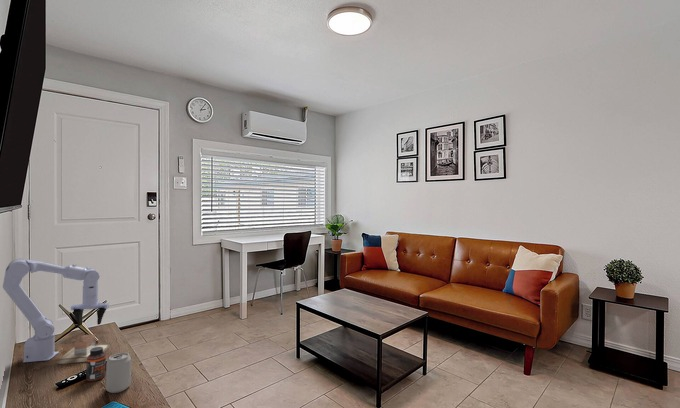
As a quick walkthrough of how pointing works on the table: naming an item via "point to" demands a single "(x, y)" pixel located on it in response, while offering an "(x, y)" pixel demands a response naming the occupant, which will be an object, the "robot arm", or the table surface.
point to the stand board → (71, 358)
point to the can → (118, 372)
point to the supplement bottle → (96, 364)
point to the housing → (84, 345)
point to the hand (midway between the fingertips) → (89, 324)
